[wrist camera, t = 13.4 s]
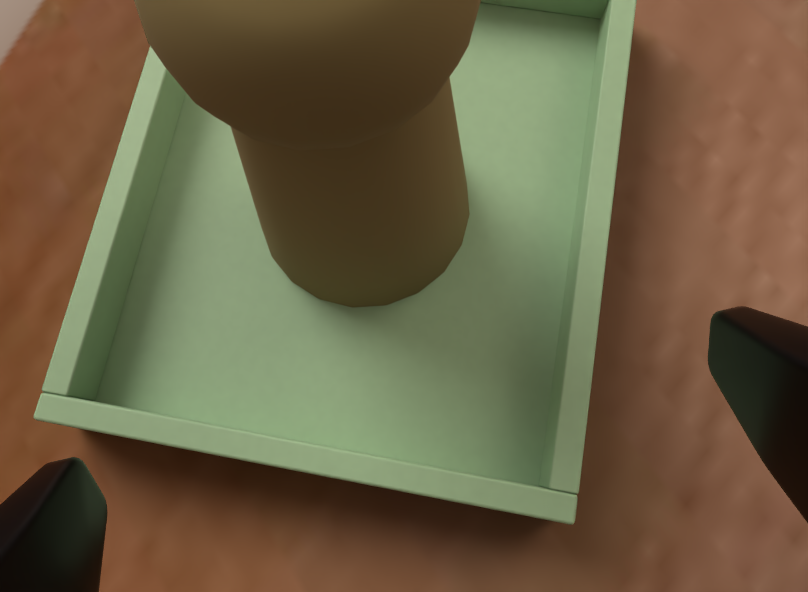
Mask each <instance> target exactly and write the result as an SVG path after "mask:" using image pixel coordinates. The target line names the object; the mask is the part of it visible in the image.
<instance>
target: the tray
mask: <svg viewBox="0 0 808 592" xmlns="http://www.w3.org/2000/svg"><path fill="white" fill-rule="evenodd" d="M635 9H636V0H481V2H480V6H479V9H478V13H477V17H476V20H475V24H474V28H473V31H472V35H471V39H470V43H469V46H468V48H467V50H466V51H465V53H464V55H463V57H462V58H461V60H460V62H459V64H458V66H457V67H456V68H455V70H454V71H453V73H452V74H451V76H450V83H451V89H452V95H453V101H454V107H455V113H456V120H457V126H458V132H459V138H460V144H461V150H462V156H463V163H464V169H465V175H466V181H467V190H468V202H469V213H470V215H469V219H468V223H467V227H466V231H465V234H464V238H463V242H462V245H461V247H460V249H459V250H458V252H457V253H456V255H455V256H454V258H453V259H452V261H451V262H450V264H449V265H448V267H447V269H446V270H445V272H444V273H442V274H441V275H440V276H439V277H438V278H436V279H435V280H434V281H433V282H431V283H430V284H429V285H428V286H426V287H425V288H424V289H423V290H421V291H420V292H419V293H417V294H414V295H412V296H409V297H407V298H404V299H402V300H399V301H396V302H394V303H391V304H389V305H384V306H369V307H353V308H352V307H348V306H344V305H340V304H336V303H332V302H328V301H324V300H320V299H318V298H317V297H315V296H313V295H312V294H310V293H309V292H307V291H306V290H304V289H302V288H301V287H299V286H298V285H296V284H294V283H293V282H292V281H291V280H290V279H289V278H288V276H287V275H286V274H285V273H284V271H283V270H282V269H281V268H280V267H279V265H278V264H277V263H276V262H275V260H274V259H273V258H272V256H271V253H270V250H269V248H268V245H267V242H266V239H265V236H264V233H263V231H262V228H261V225H260V221H259V218H258V215H257V211H256V208H255V205H254V202H253V198H252V195H251V192H250V189H249V185H248V182H247V179H246V176H245V172H244V169H243V166H242V163H241V159H240V156H239V153H238V149H237V146H236V143H235V140H234V136H233V133H232V130H231V127H230V126H229V125H228V124H226V123H224V122H223V121H221V120H219V119H218V118H216V117H214V116H213V115H211V114H210V113H208V112H207V111H206V110H204V109H203V108H201V107H200V106H198V105H197V104H195V103H194V101H193V100H192V99H191V98H190V97H189V95H188V94H187V93H186V92H185V91H184V89H183V88H182V87H181V86H180V84H179V83H178V82H177V81H176V80H175V78H174V77H173V76H172V75H171V74H170V72H169V71H168V70H167V69H166V68H165V66H164V65H163V63H162V62H161V61H160V59H159V58H158V56H157V55H156V53H155V52H154V50H153V49H152V48H151V46H150V48H149V51H148V55H147V58H146V61H145V64H144V67H143V70H142V74H141V77H140V80H139V83H138V86H137V89H136V93H135V96H134V99H133V102H132V105H131V108H130V112H129V115H128V118H127V121H126V124H125V127H124V131H123V134H122V137H121V140H120V143H119V146H118V150H117V153H116V156H115V159H114V162H113V165H112V169H111V172H110V175H109V178H108V181H107V184H106V188H105V191H104V194H103V197H102V200H101V203H100V207H99V210H98V213H97V216H96V219H95V222H94V226H93V229H92V232H91V235H90V238H89V241H88V245H87V248H86V251H85V254H84V257H83V260H82V264H81V267H80V270H79V273H78V276H77V279H76V283H75V286H74V289H73V292H72V295H71V298H70V302H69V305H68V308H67V311H66V314H65V317H64V321H63V324H62V327H61V330H60V333H59V336H58V340H57V343H56V346H55V349H54V352H53V355H52V359H51V362H50V365H49V368H48V371H47V374H46V378H45V381H44V384H43V387H42V391H43V392H44V393H42V394H41V395H40V398H39V401H38V405H37V408H36V411H35V414H34V419H36V420H38V421H43V422H48V423H53V424H59V425H64V426H69V427H74V428H79V429H84V430H89V431H94V432H100V433H105V434H110V435H115V436H120V437H125V438H130V439H135V440H140V441H146V442H151V443H156V444H161V445H166V446H171V447H176V448H181V449H186V450H192V451H197V452H202V453H207V454H212V455H217V456H222V457H227V458H233V459H238V460H243V461H248V462H253V463H258V464H263V465H268V466H273V467H279V468H284V469H289V470H294V471H299V472H304V473H309V474H314V475H319V476H325V477H330V478H335V479H340V480H345V481H350V482H355V483H360V484H366V485H371V486H376V487H381V488H386V489H391V490H396V491H401V492H406V493H412V494H417V495H422V496H427V497H432V498H437V499H442V500H447V501H452V502H458V503H463V504H468V505H473V506H478V507H483V508H488V509H493V510H499V511H504V512H509V513H514V514H519V515H524V516H529V517H534V518H539V519H545V520H550V521H555V522H560V523H565V524H570V525H571V524H574V522H575V517H576V508H577V500H578V498H577V495H575V494H578V493H579V485H580V477H581V468H582V460H583V451H584V443H585V434H586V426H587V417H588V409H589V400H590V392H591V383H592V375H593V366H594V358H595V349H596V341H597V332H598V324H599V315H600V307H601V298H602V290H603V281H604V273H605V264H606V256H607V247H608V239H609V230H610V222H611V213H612V205H613V196H614V188H615V179H616V171H617V162H618V154H619V145H620V137H621V128H622V119H623V111H624V102H625V94H626V85H627V77H628V68H629V60H630V51H631V43H632V34H633V26H634V17H635Z"/></svg>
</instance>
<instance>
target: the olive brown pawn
mask: <svg viewBox="0 0 808 592" xmlns="http://www.w3.org/2000/svg"><path fill="white" fill-rule="evenodd" d="M134 2H135V5H136V8H137V11H138V14H139V17H140V20H141V23H142V26H143V29H144V32H145V35H146V38H147V41H148V43H149V45H150V46H151V48H152V49H153V50H154V52H155V53H156V55H157V56H158V58H159V59H160V61H161V62H162V63H163V65H164V66H165V68H166V69H167V70H168V71H169V72H170V74H171V75H172V76H173V77H174V78H175V80H176V81H177V82H178V83H179V84H180V86H181V87H182V88H183V89H184V91H185V92H186V93H187V94H188V95H189V97H190V98H191V99H192V100H193V101H194V103H195V104H197V105H198V106H200V107H201V108H203V109H204V110H206V111H207V112H208V113H210V114H211V115H213V116H214V117H216V118H218V119H219V120H221V121H223V122H224V123H226V124H228V125H229V126H230V127H231V130H232V133H233V136H234V140H235V143H236V146H237V149H238V153H239V156H240V159H241V163H242V166H243V169H244V172H245V176H246V179H247V182H248V185H249V189H250V192H251V195H252V198H253V202H254V205H255V208H256V211H257V215H258V218H259V221H260V225H261V228H262V231H263V233H264V236H265V239H266V242H267V245H268V248H269V250H270V253H271V256H272V258H273V259H274V260H275V262H276V263H277V264H278V265H279V267H280V268H281V269H282V270H283V271H284V273H285V274H286V275H287V276H288V278H289V279H290V280H291V281H292V282H293V283H294V284H296V285H298V286H299V287H301V288H302V289H304V290H306V291H307V292H309V293H310V294H312V295H313V296H315V297H317V298H318V299H320V300H324V301H328V302H332V303H336V304H340V305H344V306H348V307H352V308H353V307H369V306H384V305H389V304H391V303H394V302H396V301H399V300H402V299H404V298H407V297H409V296H412V295H414V294H417V293H419V292H420V291H421V290H423V289H424V288H425V287H426V286H428V285H429V284H430V283H431V282H433V281H434V280H435V279H436V278H438V277H439V276H440V275H441V274H442V273H444V272H445V270H446V269H447V267H448V265H449V264H450V262H451V261H452V259H453V258H454V256H455V255H456V253H457V252H458V250H459V249H460V247H461V245H462V242H463V238H464V234H465V231H466V227H467V223H468V219H469V215H470V213H469V202H468V190H467V181H466V175H465V169H464V163H463V156H462V150H461V144H460V138H459V132H458V126H457V120H456V113H455V107H454V101H453V95H452V89H451V83H450V76H451V74H452V73H453V71H454V70H455V68H456V67H457V66H458V64H459V62H460V60H461V58H462V57H463V55H464V53H465V51H466V50H467V48H468V46H469V43H470V39H471V35H472V31H473V28H474V24H475V20H476V17H477V13H478V9H479V6H480V2H481V0H134Z"/></svg>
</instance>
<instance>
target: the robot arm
mask: <svg viewBox="0 0 808 592" xmlns="http://www.w3.org/2000/svg"><path fill="white" fill-rule="evenodd" d="M708 365H709V369H710V372H711V374H712V376H713V378H714V380H715V381H716V383H717V385H718V387H719V388H720V390H721V392H722V393H723V395H724V397H725V399H726V400H727V402H728V404H729V405H730V407H731V409H732V410H733V412H734V414H735V416H736V417H737V419H738V421H739V422H740V424H741V426H742V428H743V429H744V431H745V433H746V434H747V436H748V438H749V440H750V441H751V443H752V445H753V446H754V448H755V450H756V451H757V453H758V455H759V456H760V458H761V459H762V461H763V463H764V464H765V466H766V467H767V468H768V470H769V471H770V473H771V474H772V475H773V477H774V478H775V480H776V481H777V482H778V484H779V485H780V486H781V488H782V489H783V490H784V492H785V493H786V494H787V496H788V497H789V498H790V500H791V501H792V502H793V504H794V505H795V507H796V508H797V509H798V511H799V512H800V513H801V515H802V516H803V517H804V519H805V520H806V521H807V523H808V327H807V326H804V325H801V324H798V323H795V322H792V321H789V320H786V319H783V318H779V317H776V316H773V315H770V314H767V313H764V312H761V311H758V310H755V309H752V308H748V307H745V306H740V307H735V308H730V309H726V310H722V311H718V312H716V313H715V314H714V315H713V316H712V318H711V323H710V336H709V349H708ZM106 521H107V504H106V500H105V498H104V495H103V494H102V492H101V490H100V489H99V487H98V485H97V483H96V482H95V480H94V478H93V477H92V475H91V473H90V472H89V470H88V468H87V467H86V465H85V464H84V462H83V461H82V460H81V459H79V458H75V457H72V458H67V459H63V460H58V461H54V462H50V463H47V464H46V465H44V466H43V467H42V468H41V469H39V470H38V471H37V472H36V473H35V474H34V475H33V476H32V477H31V478H29V479H28V480H27V481H26V482H25V483H24V484H23V485H22V486H21V487H19V488H18V489H17V490H16V491H15V492H14V493H13V494H12V495H10V496H9V497H8V498H7V499H6V500H5V501H4V502H3V503H2V504H0V592H99V585H100V576H101V567H102V558H103V549H104V540H105V531H106Z"/></svg>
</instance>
